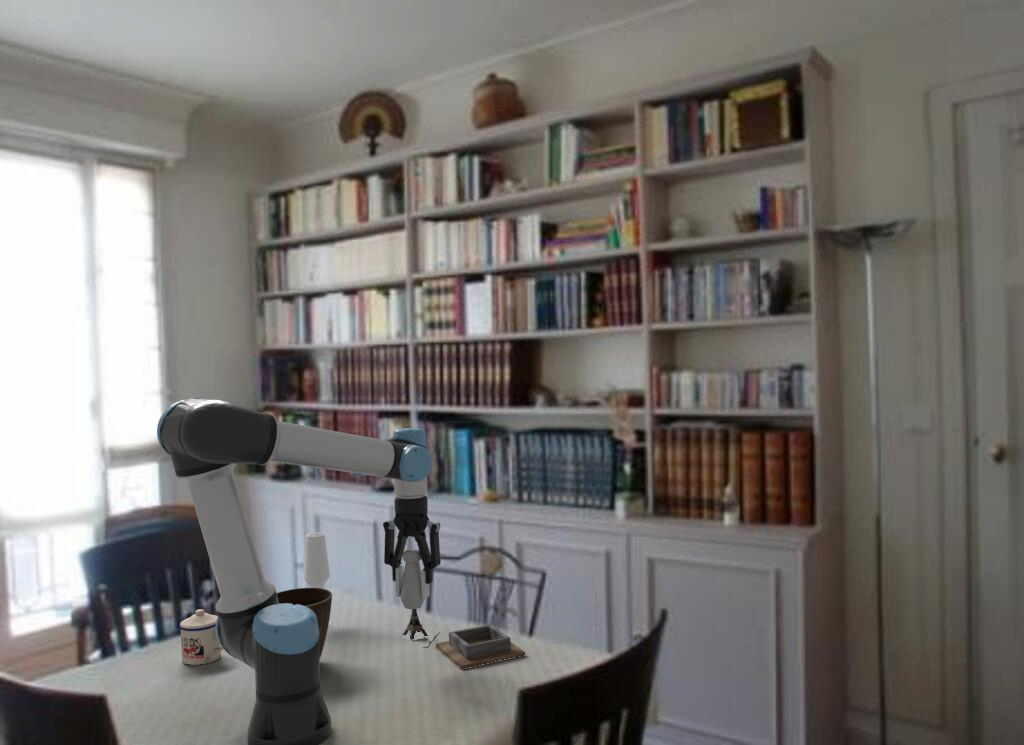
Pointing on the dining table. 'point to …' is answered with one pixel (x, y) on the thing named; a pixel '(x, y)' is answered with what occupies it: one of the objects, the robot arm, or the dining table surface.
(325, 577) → the champagne flute
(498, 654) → the socket stand
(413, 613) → the eiffel tower figurine
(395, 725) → the dining table surface
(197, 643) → the teacup with lid
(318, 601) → the plant pot
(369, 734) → the dining table surface
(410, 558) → the salt shaker
